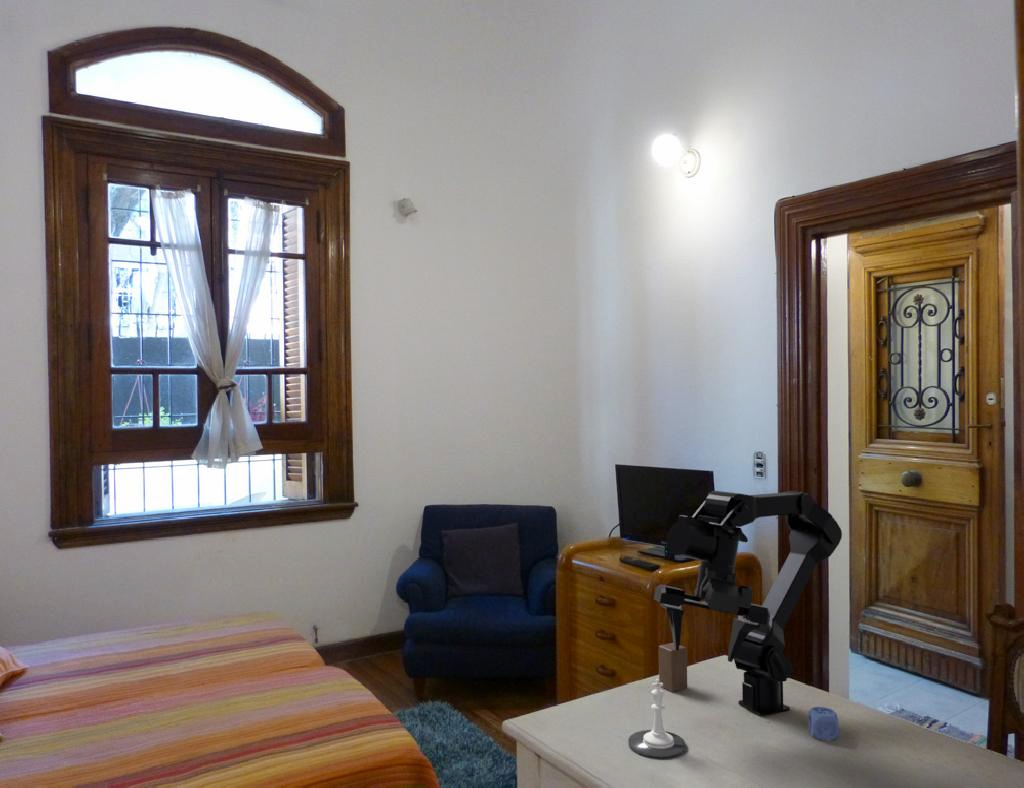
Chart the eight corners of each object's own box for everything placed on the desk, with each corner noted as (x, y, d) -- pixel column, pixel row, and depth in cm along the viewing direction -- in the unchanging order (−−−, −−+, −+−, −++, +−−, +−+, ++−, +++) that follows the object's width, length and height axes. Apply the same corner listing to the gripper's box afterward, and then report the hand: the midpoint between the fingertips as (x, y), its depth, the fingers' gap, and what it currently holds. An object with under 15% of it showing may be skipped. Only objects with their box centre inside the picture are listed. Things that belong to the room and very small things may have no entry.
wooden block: (672, 693, 145) (671, 650, 145) (658, 686, 148) (657, 645, 148) (688, 688, 147) (687, 647, 147) (674, 682, 150) (673, 641, 150)
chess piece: (679, 747, 120) (678, 683, 120) (649, 750, 119) (648, 686, 119) (666, 734, 125) (665, 672, 125) (638, 737, 124) (637, 675, 124)
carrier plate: (664, 729, 128) (664, 726, 128) (697, 751, 120) (696, 748, 120) (618, 739, 125) (617, 735, 125) (648, 762, 116) (648, 758, 116)
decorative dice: (808, 729, 128) (807, 705, 128) (833, 731, 127) (833, 707, 127) (813, 740, 124) (812, 715, 124) (839, 741, 123) (838, 717, 123)
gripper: (675, 555, 124) (659, 653, 121) (788, 579, 124) (774, 677, 121) (661, 551, 135) (645, 641, 132) (764, 573, 135) (751, 663, 132)
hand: (703, 655), depth 129 cm, fingers open, 9 cm apart
